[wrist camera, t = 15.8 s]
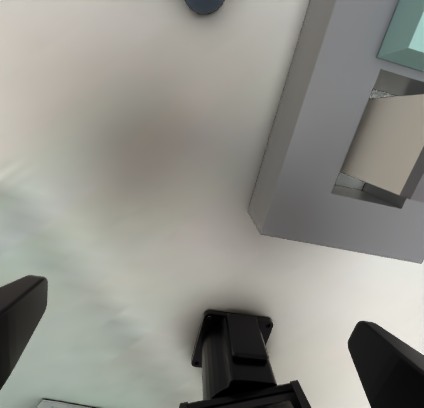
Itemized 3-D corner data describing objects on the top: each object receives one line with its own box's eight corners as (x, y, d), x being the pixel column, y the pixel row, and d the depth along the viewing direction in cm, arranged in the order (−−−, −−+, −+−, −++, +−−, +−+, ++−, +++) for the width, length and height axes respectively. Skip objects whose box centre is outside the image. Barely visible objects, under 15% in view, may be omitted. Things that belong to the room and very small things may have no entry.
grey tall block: (384, 113, 18) (540, 114, 10) (359, 172, 19) (478, 215, 11) (339, 101, 18) (465, 90, 9) (317, 162, 19) (410, 199, 11)
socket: (381, 237, 22) (421, 263, 18) (247, 211, 20) (260, 234, 16) (506, -15, 16) (603, -55, 12) (334, -82, 14) (385, -152, 10)
